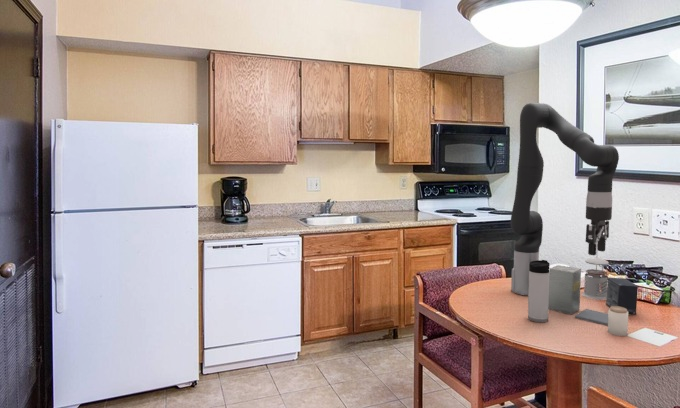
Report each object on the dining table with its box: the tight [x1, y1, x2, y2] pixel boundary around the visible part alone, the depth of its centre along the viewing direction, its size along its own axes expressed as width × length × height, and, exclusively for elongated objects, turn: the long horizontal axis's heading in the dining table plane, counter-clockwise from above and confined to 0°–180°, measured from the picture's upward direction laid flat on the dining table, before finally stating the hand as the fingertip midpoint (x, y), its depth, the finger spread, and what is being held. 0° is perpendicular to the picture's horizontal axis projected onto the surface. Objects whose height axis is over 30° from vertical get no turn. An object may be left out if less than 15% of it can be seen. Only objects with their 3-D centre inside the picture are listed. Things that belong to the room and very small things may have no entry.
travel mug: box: [527, 259, 550, 324], centre depth 149 cm, size 6×7×20 cm
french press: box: [580, 240, 609, 301], centre depth 174 cm, size 10×12×25 cm
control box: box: [548, 264, 582, 315], centre depth 159 cm, size 9×7×15 cm
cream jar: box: [607, 306, 629, 337], centre depth 137 cm, size 5×5×8 cm
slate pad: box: [574, 308, 608, 327], centre depth 150 cm, size 10×10×1 cm
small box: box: [605, 276, 639, 316], centre depth 158 cm, size 11×6×10 cm, turn 168°
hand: (596, 253), depth 150 cm, fingers open, 8 cm apart
